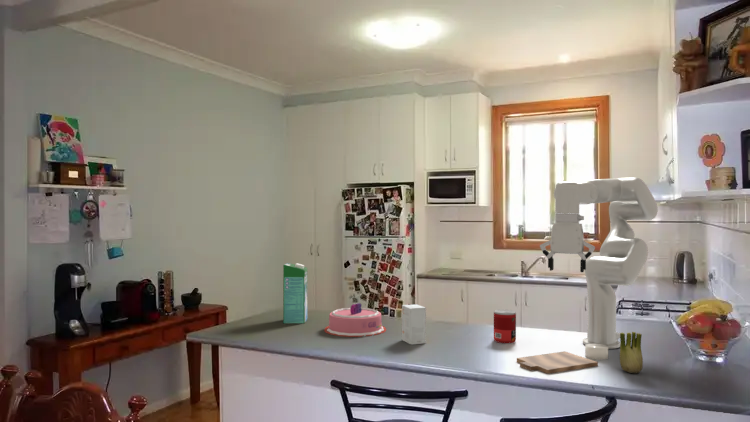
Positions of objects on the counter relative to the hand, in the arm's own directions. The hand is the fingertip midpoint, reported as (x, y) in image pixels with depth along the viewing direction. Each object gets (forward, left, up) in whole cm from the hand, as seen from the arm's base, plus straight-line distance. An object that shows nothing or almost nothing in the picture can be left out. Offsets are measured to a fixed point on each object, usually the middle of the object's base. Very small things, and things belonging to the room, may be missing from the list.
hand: (566, 271), depth 182 cm
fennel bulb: (-5, +22, -28) cm, 36 cm away
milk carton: (+65, -91, -28) cm, 116 cm away
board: (+11, +6, -28) cm, 31 cm away
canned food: (+5, -25, -28) cm, 38 cm away
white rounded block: (-9, +5, -28) cm, 30 cm away
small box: (+36, -38, -28) cm, 60 cm away
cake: (+48, -66, -29) cm, 86 cm away
